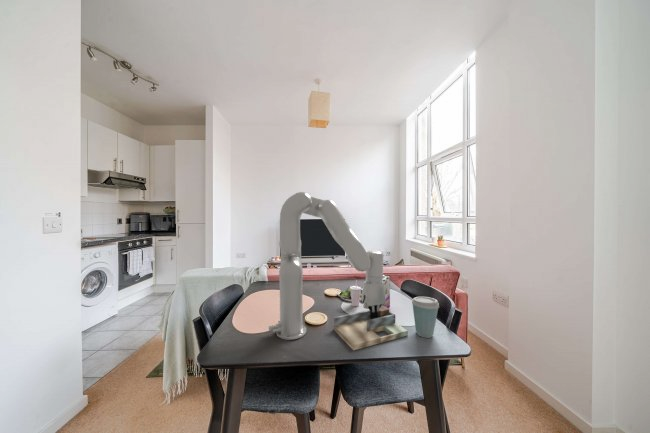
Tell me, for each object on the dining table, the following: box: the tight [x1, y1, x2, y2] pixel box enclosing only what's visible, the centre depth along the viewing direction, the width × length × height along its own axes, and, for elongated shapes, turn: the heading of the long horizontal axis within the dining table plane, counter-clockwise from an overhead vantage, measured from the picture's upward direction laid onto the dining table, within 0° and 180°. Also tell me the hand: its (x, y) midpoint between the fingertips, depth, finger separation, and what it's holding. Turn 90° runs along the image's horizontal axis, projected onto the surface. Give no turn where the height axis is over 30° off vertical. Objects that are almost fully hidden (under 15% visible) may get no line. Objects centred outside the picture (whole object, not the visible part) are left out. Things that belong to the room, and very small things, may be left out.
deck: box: [333, 309, 409, 351], centre depth 100 cm, size 26×17×6 cm, turn 114°
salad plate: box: [337, 286, 363, 303], centre depth 140 cm, size 19×18×5 cm
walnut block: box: [377, 306, 390, 318], centre depth 108 cm, size 5×5×5 cm
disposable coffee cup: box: [411, 296, 440, 339], centre depth 98 cm, size 11×11×15 cm
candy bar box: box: [383, 275, 391, 309], centre depth 124 cm, size 11×5×16 cm, turn 143°
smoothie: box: [349, 279, 362, 307], centre depth 129 cm, size 6×6×14 cm
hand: (373, 319), depth 105 cm, fingers closed
